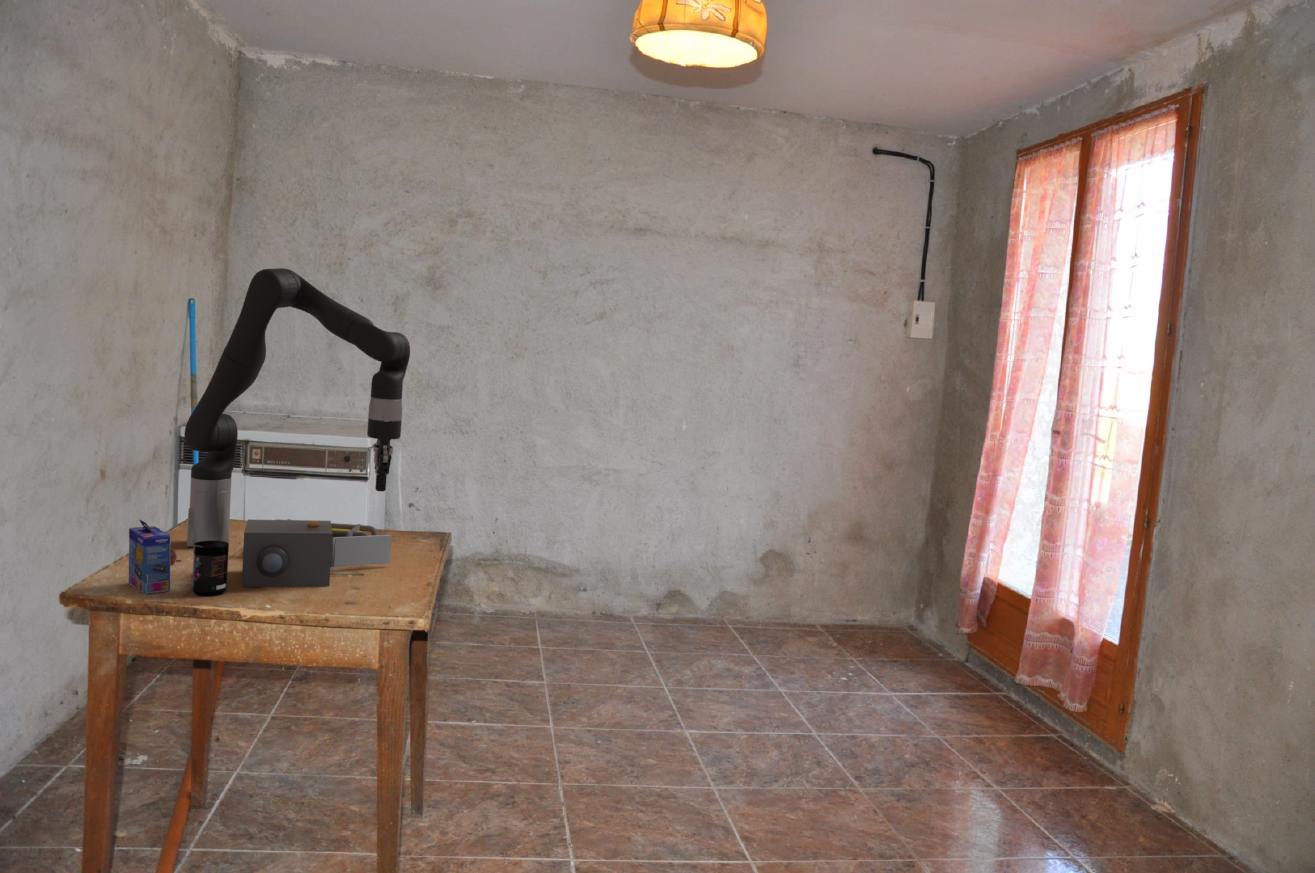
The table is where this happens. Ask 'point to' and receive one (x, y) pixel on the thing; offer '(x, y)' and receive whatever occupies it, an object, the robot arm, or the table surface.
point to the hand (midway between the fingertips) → (380, 490)
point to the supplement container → (210, 568)
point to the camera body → (286, 553)
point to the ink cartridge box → (149, 559)
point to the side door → (360, 550)
